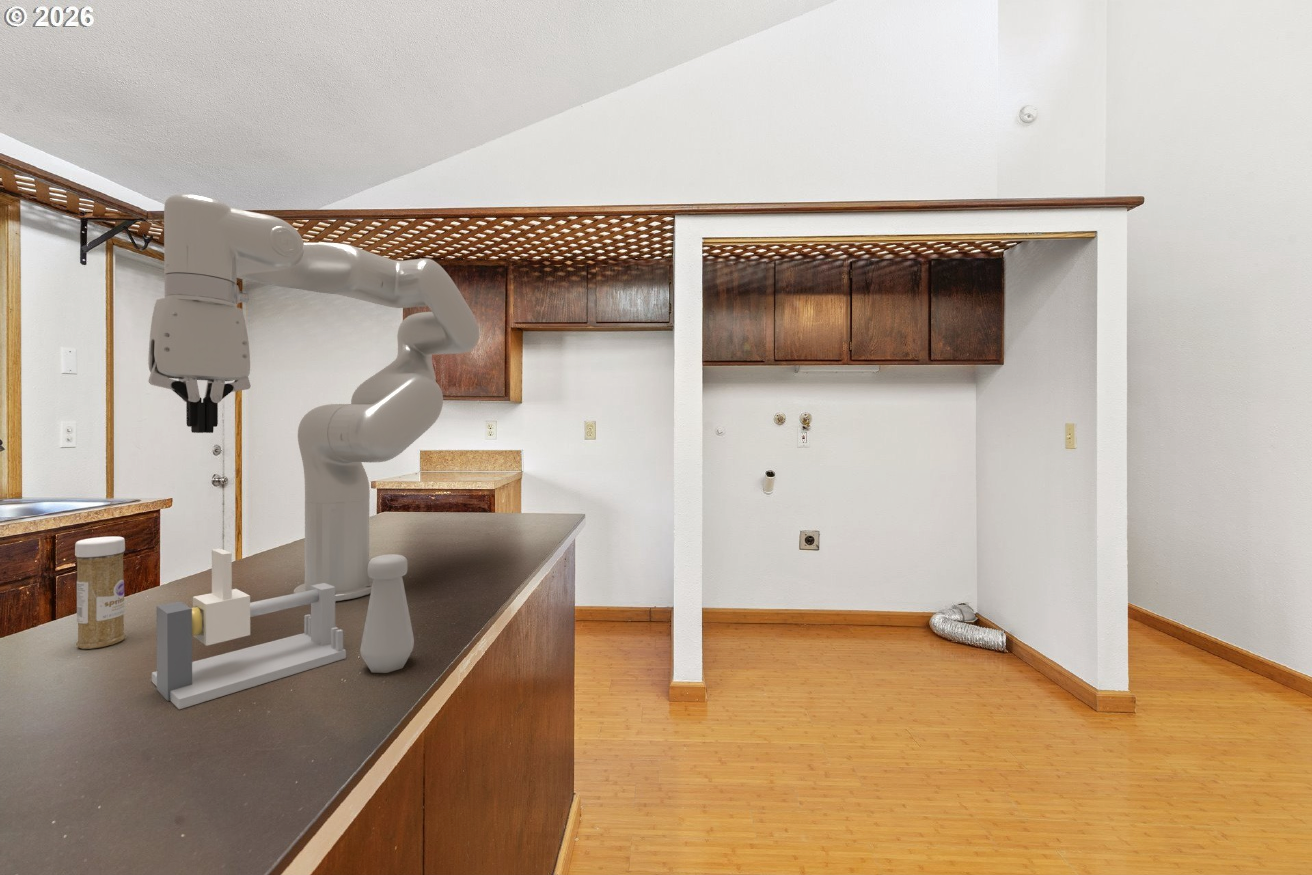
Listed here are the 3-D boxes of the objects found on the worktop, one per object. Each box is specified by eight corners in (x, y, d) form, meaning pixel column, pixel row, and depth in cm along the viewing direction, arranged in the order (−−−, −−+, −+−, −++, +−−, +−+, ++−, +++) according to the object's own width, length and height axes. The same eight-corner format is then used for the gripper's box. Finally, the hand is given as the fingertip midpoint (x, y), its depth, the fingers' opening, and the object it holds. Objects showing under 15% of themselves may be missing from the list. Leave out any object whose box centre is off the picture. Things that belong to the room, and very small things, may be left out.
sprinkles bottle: (121, 645, 73) (120, 539, 72) (70, 652, 70) (70, 543, 70) (129, 634, 76) (128, 534, 76) (81, 640, 74) (80, 537, 74)
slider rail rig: (312, 638, 76) (312, 570, 76) (348, 657, 70) (348, 583, 70) (149, 682, 62) (148, 600, 62) (176, 710, 56) (176, 619, 56)
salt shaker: (362, 659, 69) (362, 552, 69) (413, 652, 71) (414, 549, 71) (358, 679, 64) (358, 563, 63) (414, 671, 66) (414, 559, 66)
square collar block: (236, 626, 66) (235, 545, 66) (250, 634, 64) (250, 551, 64) (193, 636, 63) (192, 551, 63) (206, 645, 61) (205, 557, 60)
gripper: (256, 307, 84) (256, 432, 85) (119, 287, 72) (120, 432, 73) (276, 301, 80) (276, 432, 80) (134, 278, 68) (135, 433, 68)
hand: (202, 432), depth 76 cm, fingers closed
